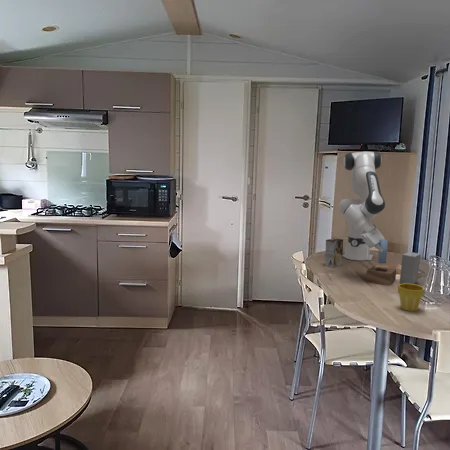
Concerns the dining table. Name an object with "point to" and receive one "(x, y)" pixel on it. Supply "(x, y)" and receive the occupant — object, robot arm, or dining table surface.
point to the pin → (383, 254)
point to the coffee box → (334, 252)
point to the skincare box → (410, 268)
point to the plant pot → (410, 296)
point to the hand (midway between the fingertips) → (384, 250)
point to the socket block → (381, 275)
